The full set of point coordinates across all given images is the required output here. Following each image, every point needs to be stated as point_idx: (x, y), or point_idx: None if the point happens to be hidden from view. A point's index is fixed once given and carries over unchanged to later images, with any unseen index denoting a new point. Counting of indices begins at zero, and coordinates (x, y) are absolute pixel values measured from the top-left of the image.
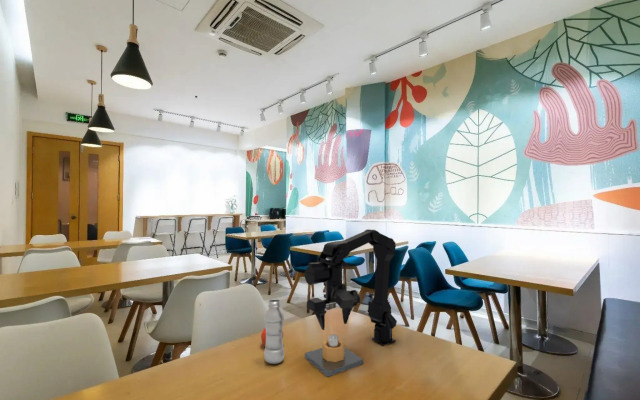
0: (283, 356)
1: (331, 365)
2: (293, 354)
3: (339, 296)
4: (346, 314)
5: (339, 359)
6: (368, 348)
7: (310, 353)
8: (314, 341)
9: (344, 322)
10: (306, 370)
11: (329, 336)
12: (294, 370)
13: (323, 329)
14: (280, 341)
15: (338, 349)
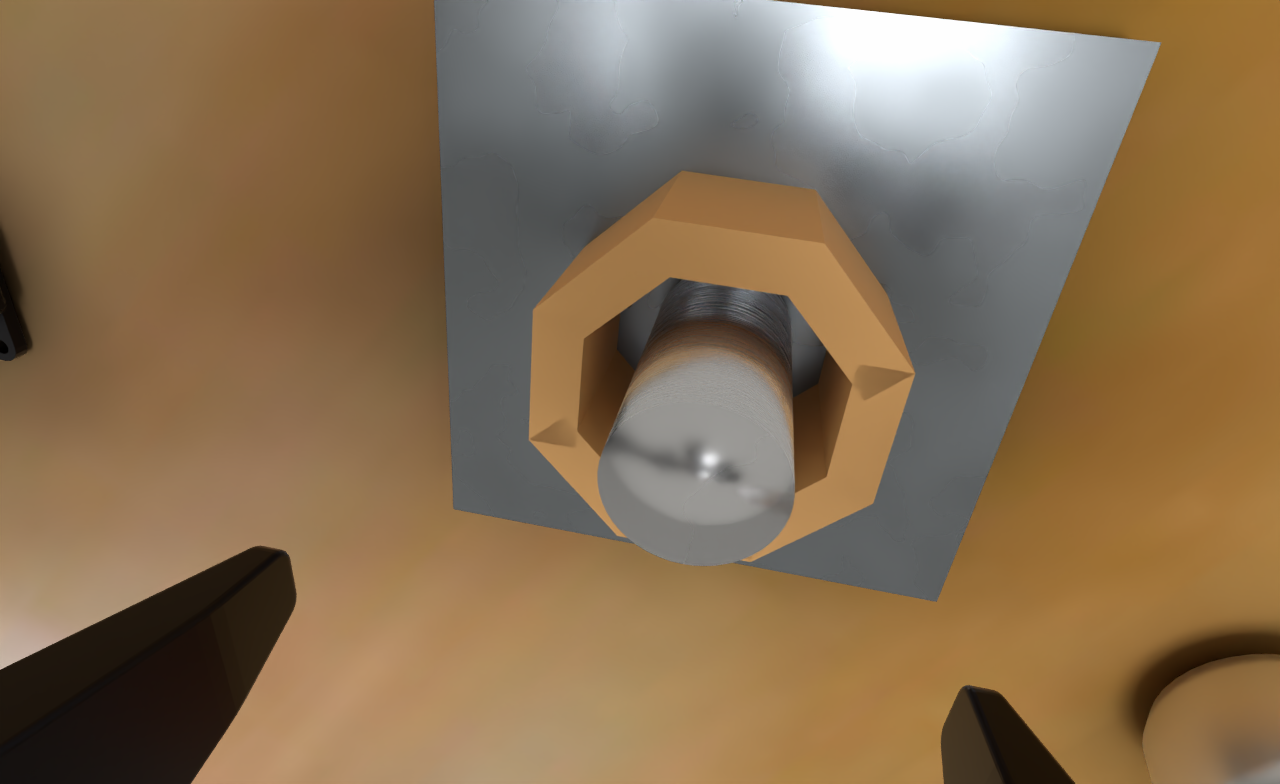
0: (1236, 692)
1: (948, 156)
2: (963, 672)
3: None
4: (46, 762)
5: (751, 184)
6: (169, 233)
7: (894, 554)
8: (601, 696)
9: (276, 604)
10: (1166, 361)
11: (757, 532)
12: (1265, 454)
13: (1000, 701)
14: None
15: (767, 229)
